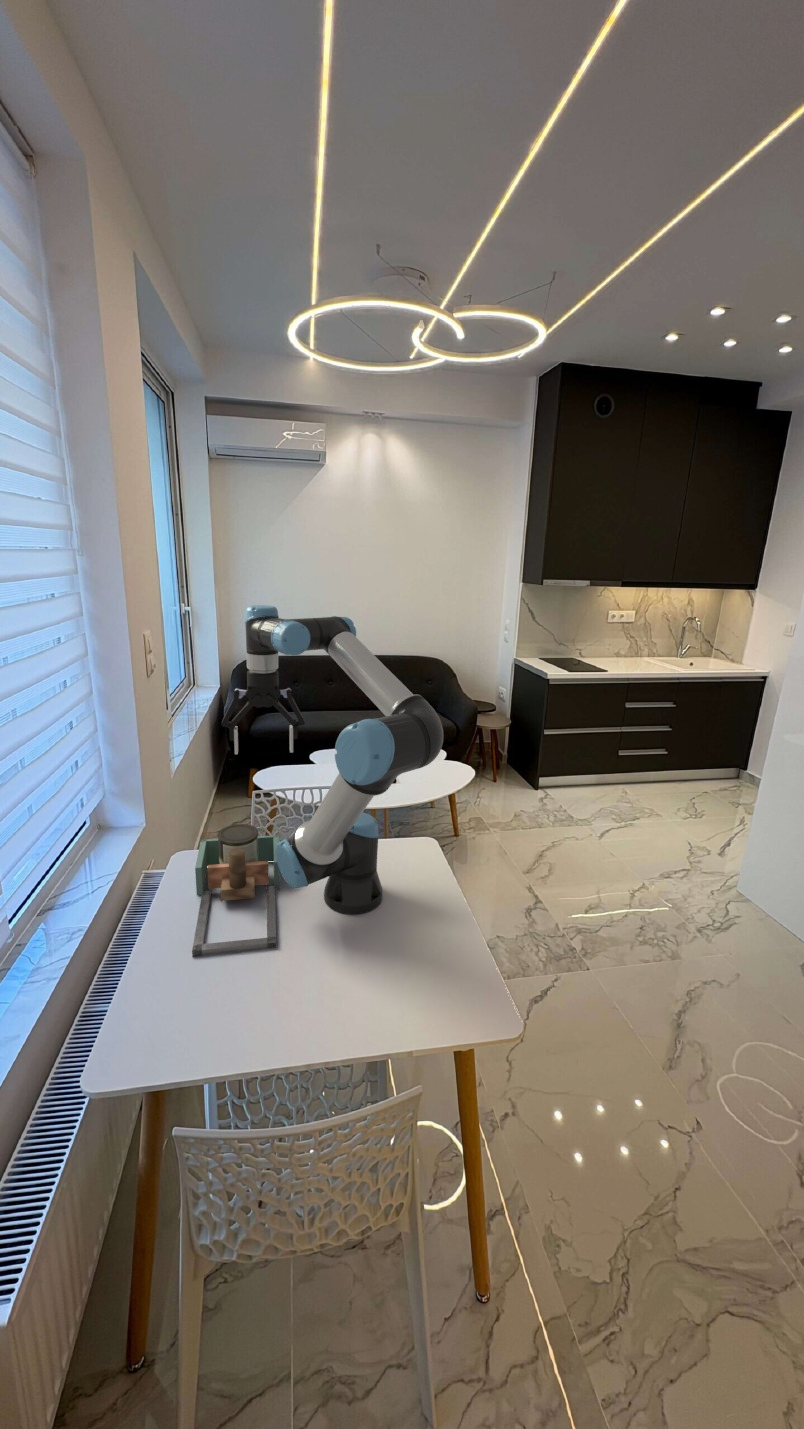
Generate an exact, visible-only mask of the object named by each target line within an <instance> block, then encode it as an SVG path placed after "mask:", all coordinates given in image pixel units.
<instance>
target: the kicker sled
mask: <svg viewBox="0 0 804 1429" xmlns="http://www.w3.org/2000/svg"><path fill="white" fill-rule="evenodd" d="M228 855H229V864H215V865H208V868H207V883H208V884H207V886H208V887H207V888H208V890H212V889H213V890H214V889H220V901H237V900H245V899H247V900H248V899H255V894H256V893H255V892H256V891H255V890H256V888H255V887H256V886H263V885H269V863H268V861H257V862H245V850H244V849H241V848H236V849H232V850H230V851H229V853H228Z"/></svg>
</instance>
